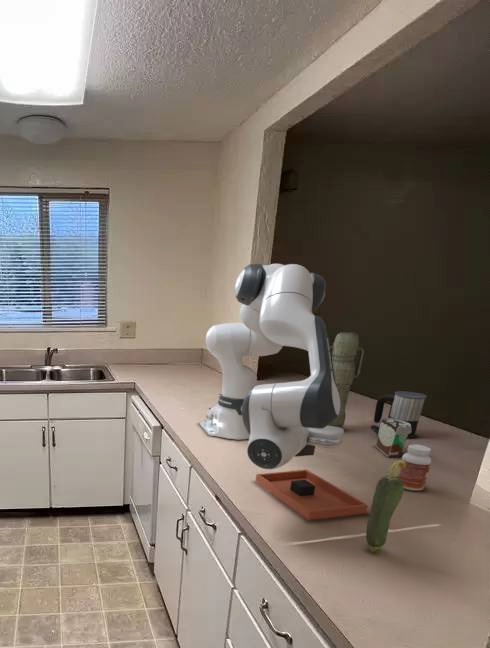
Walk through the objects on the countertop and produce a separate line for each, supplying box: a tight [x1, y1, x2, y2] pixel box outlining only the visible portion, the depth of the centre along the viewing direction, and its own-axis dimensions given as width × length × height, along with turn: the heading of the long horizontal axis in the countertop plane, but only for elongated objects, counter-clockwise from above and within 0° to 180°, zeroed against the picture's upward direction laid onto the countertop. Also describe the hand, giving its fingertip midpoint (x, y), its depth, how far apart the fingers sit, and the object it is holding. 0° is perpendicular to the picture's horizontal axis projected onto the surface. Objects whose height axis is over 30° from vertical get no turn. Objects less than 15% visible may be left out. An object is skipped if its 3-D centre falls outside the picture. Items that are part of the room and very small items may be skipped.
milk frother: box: [370, 390, 428, 439], centre depth 152 cm, size 14×16×15 cm
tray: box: [255, 469, 370, 521], centre depth 109 cm, size 21×15×2 cm
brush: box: [293, 444, 316, 458], centre depth 111 cm, size 6×4×12 cm
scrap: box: [290, 480, 315, 496], centre depth 111 cm, size 4×4×2 cm
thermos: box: [328, 331, 365, 429], centre depth 156 cm, size 9×12×35 cm
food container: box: [375, 416, 412, 458], centre depth 137 cm, size 12×6×10 cm, turn 168°
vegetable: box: [365, 459, 407, 553], centre depth 85 cm, size 4×4×20 cm
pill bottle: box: [397, 444, 432, 491], centre depth 113 cm, size 6×6×11 cm
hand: (303, 423), depth 111 cm, fingers closed on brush, 3 cm apart
